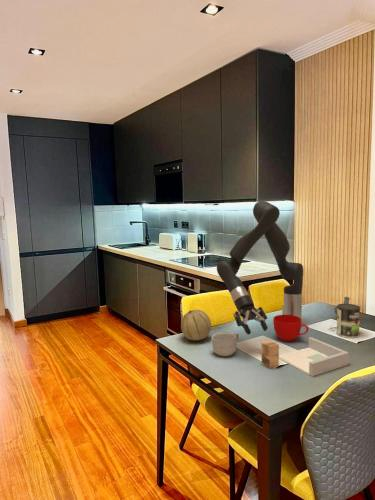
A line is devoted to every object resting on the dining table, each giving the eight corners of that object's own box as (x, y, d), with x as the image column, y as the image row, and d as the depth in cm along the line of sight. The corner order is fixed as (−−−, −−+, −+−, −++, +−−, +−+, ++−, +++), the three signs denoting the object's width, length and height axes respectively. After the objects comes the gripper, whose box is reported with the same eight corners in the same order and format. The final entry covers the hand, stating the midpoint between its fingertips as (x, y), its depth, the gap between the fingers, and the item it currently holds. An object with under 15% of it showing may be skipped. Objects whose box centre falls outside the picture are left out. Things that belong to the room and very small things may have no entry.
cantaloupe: (217, 340, 174) (217, 309, 172) (193, 347, 166) (192, 316, 164) (199, 331, 186) (198, 303, 184) (175, 338, 178) (174, 308, 176)
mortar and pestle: (350, 324, 191) (351, 301, 190) (332, 320, 197) (333, 299, 195) (356, 318, 200) (356, 297, 198) (338, 315, 206) (338, 294, 204)
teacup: (220, 360, 151) (220, 342, 150) (207, 351, 161) (206, 334, 160) (247, 353, 158) (247, 336, 157) (233, 345, 167) (233, 328, 166)
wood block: (261, 363, 147) (261, 342, 146) (270, 361, 149) (270, 340, 148) (269, 368, 143) (269, 347, 142) (278, 366, 145) (278, 344, 144)
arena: (276, 357, 153) (276, 346, 152) (311, 348, 162) (311, 337, 161) (312, 376, 135) (312, 363, 135) (348, 364, 144) (348, 352, 144)
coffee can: (364, 336, 174) (365, 307, 172) (348, 339, 170) (349, 310, 168) (347, 329, 183) (347, 302, 182) (331, 332, 179) (332, 305, 177)
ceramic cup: (301, 348, 162) (302, 326, 160) (268, 339, 173) (268, 319, 172) (314, 339, 171) (314, 319, 170) (281, 332, 182) (281, 312, 181)
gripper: (231, 296, 154) (247, 330, 145) (258, 292, 160) (275, 324, 152) (224, 305, 159) (240, 339, 151) (251, 301, 166) (267, 333, 157)
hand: (257, 331), depth 151 cm, fingers open, 8 cm apart
